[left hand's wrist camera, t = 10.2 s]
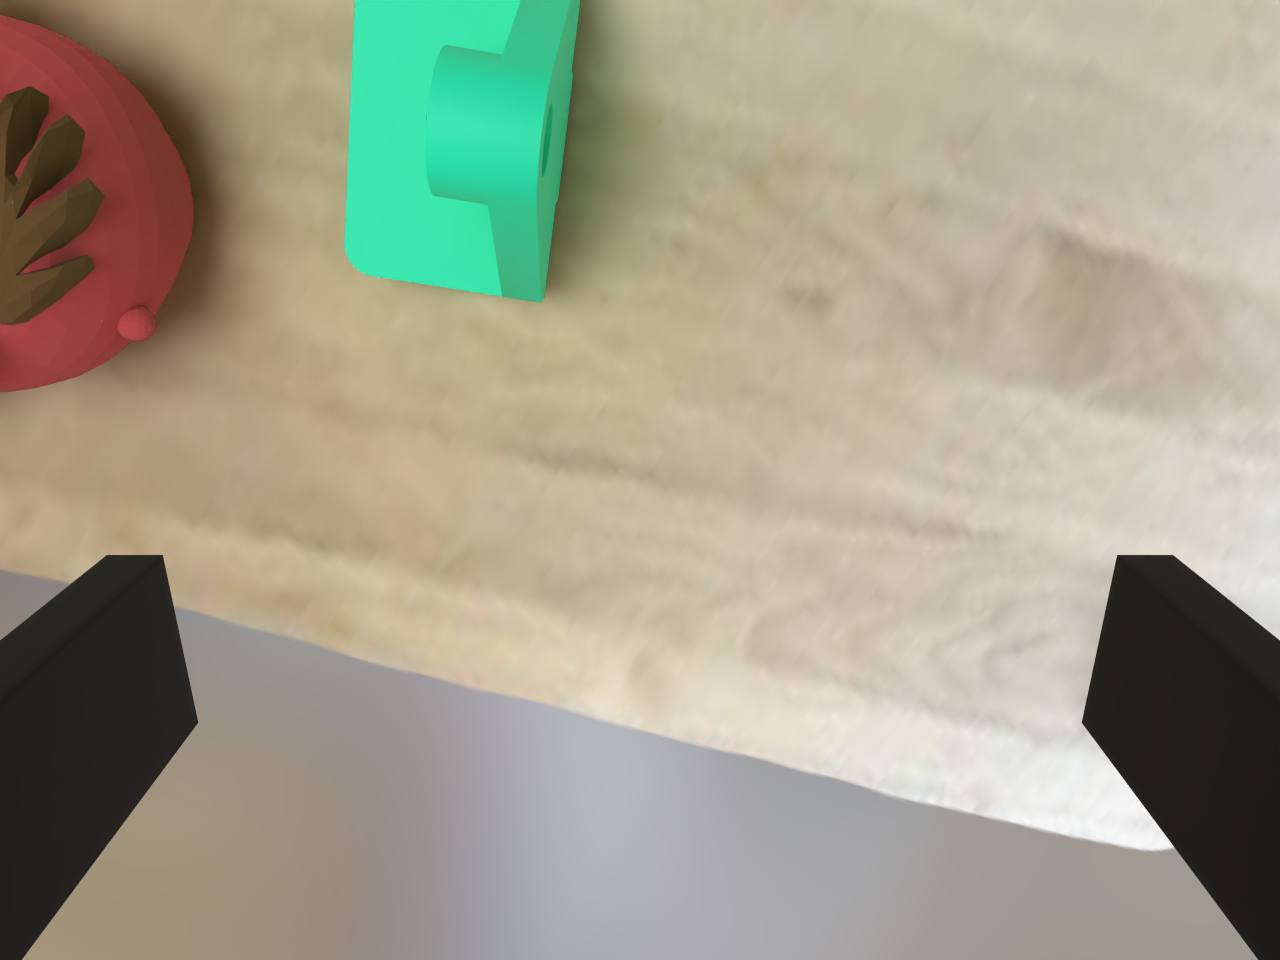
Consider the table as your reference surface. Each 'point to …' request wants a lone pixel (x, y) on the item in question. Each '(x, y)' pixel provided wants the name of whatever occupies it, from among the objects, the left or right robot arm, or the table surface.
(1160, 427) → the table surface
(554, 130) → the camera mount
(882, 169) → the table surface
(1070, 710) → the table surface
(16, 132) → the toy
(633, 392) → the table surface
